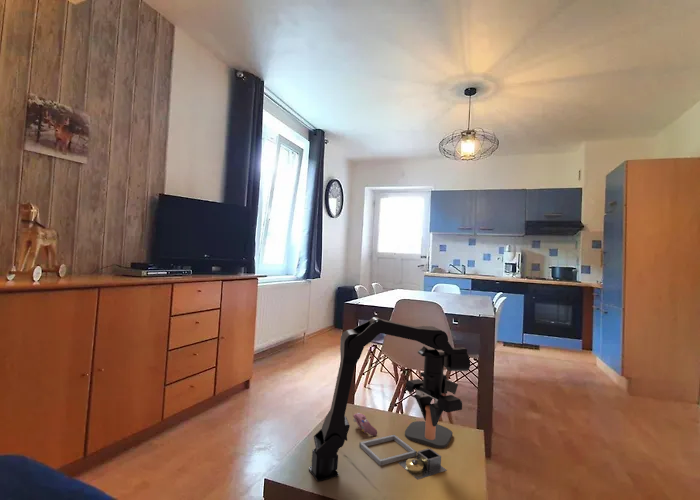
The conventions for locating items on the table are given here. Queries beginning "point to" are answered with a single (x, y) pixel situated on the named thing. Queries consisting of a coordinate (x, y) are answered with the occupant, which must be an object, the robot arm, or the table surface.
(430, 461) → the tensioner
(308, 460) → the table surface
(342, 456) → the table surface
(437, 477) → the table surface
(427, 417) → the pin
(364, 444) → the tray
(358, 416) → the video game controller
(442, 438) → the media streaming box
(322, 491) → the table surface
